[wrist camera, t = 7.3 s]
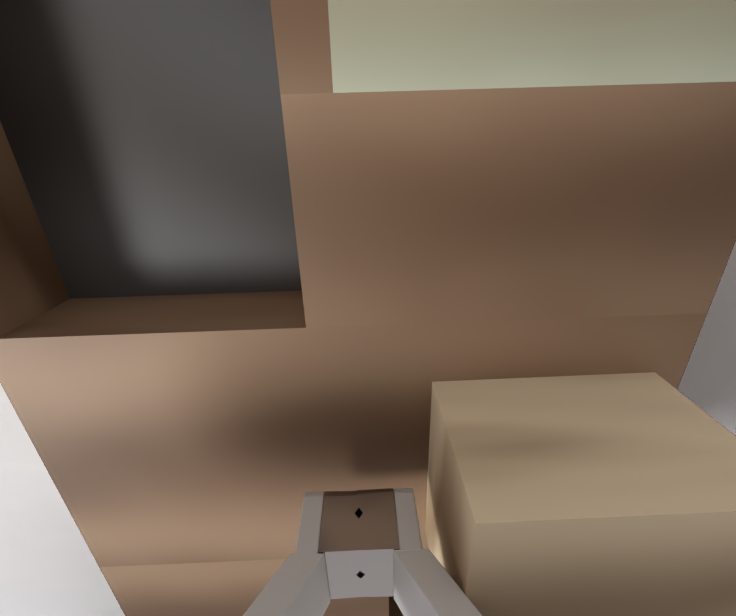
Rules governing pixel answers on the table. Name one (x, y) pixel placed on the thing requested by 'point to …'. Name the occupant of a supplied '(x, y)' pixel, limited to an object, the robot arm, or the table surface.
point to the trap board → (333, 246)
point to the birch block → (582, 497)
